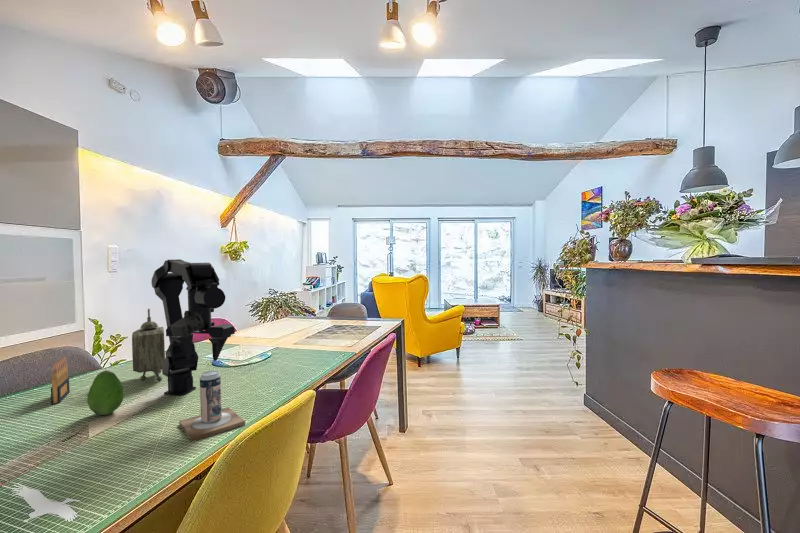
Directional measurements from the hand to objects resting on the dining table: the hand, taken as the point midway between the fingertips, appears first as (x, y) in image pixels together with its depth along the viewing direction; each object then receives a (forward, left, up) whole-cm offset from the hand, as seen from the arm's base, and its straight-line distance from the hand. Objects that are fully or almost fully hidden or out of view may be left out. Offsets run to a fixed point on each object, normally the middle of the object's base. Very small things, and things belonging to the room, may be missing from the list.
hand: (201, 360), depth 106 cm
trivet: (+12, -11, -13) cm, 21 cm away
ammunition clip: (-48, -3, -13) cm, 50 cm away
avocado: (-22, -10, -13) cm, 28 cm away
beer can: (+12, -11, -12) cm, 20 cm away
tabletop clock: (-36, +17, -13) cm, 42 cm away
